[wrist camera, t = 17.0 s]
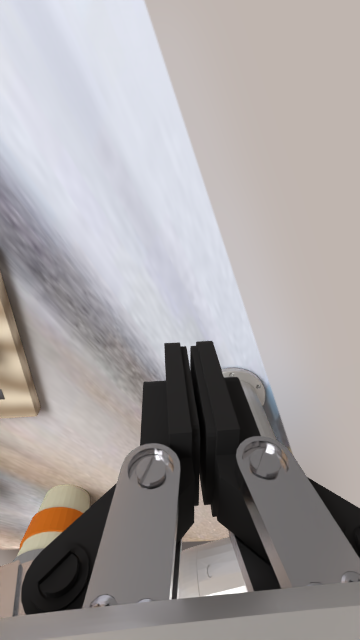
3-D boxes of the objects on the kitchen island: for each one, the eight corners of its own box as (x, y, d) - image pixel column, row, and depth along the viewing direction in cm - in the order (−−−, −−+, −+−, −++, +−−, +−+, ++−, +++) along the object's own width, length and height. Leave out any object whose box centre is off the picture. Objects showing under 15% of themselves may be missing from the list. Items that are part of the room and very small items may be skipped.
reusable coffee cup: (35, 476, 60) (1, 567, 47) (101, 480, 62) (86, 568, 49) (36, 515, 65) (6, 605, 52) (96, 517, 67) (82, 605, 54)
